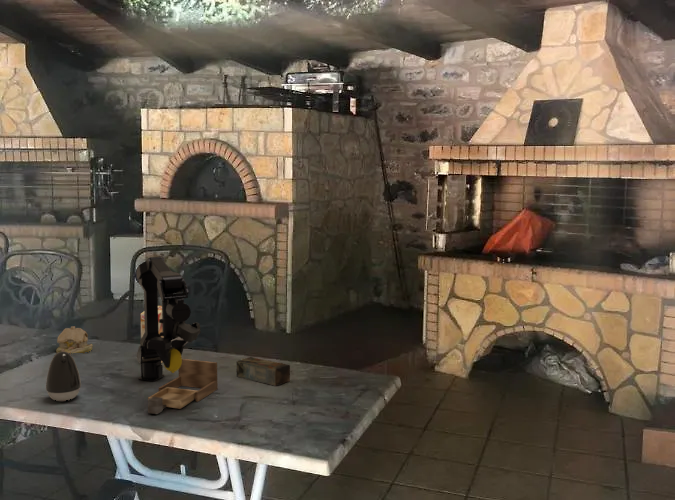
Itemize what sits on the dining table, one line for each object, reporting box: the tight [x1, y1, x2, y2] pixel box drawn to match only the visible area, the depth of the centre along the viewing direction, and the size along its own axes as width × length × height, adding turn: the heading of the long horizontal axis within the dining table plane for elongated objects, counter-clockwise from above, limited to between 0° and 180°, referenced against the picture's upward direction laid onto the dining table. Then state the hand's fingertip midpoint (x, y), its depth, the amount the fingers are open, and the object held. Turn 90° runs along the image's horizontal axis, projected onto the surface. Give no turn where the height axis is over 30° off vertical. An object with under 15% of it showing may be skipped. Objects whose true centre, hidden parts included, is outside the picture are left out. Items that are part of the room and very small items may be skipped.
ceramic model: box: [55, 325, 94, 355], centre depth 266 cm, size 14×11×10 cm
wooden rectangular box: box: [235, 356, 291, 387], centre depth 233 cm, size 8×19×6 cm, turn 54°
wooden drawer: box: [147, 387, 198, 415], centre depth 206 cm, size 11×17×4 cm, turn 162°
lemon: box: [163, 349, 183, 374], centre depth 208 cm, size 6×6×8 cm
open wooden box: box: [157, 358, 219, 403], centre depth 217 cm, size 14×13×9 cm
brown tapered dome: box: [45, 351, 82, 402], centre depth 210 cm, size 10×10×15 cm
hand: (172, 365), depth 208 cm, fingers closed on lemon, 5 cm apart
